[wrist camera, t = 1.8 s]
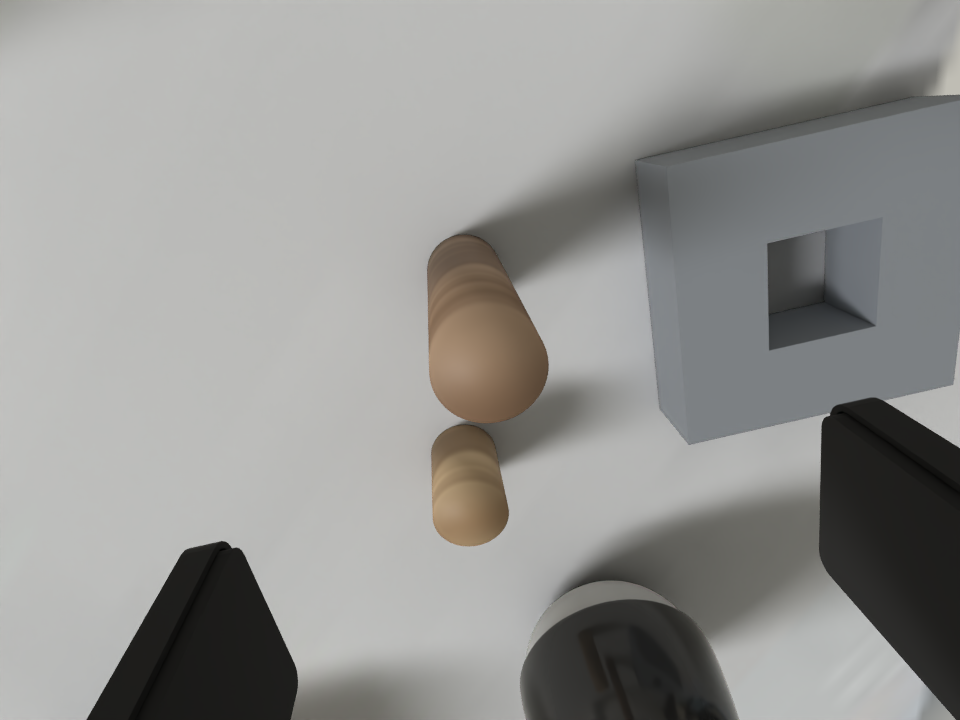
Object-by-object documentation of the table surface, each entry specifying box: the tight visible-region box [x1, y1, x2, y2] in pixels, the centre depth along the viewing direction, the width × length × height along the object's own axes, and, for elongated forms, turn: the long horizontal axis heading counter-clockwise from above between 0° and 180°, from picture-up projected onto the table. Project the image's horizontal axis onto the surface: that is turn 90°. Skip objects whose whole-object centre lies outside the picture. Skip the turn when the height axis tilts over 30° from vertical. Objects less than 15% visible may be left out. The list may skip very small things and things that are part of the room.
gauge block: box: [635, 95, 960, 445], centre depth 25 cm, size 12×12×4 cm
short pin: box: [431, 425, 509, 546], centre depth 27 cm, size 3×3×5 cm
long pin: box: [427, 235, 549, 423], centre depth 21 cm, size 3×3×11 cm
